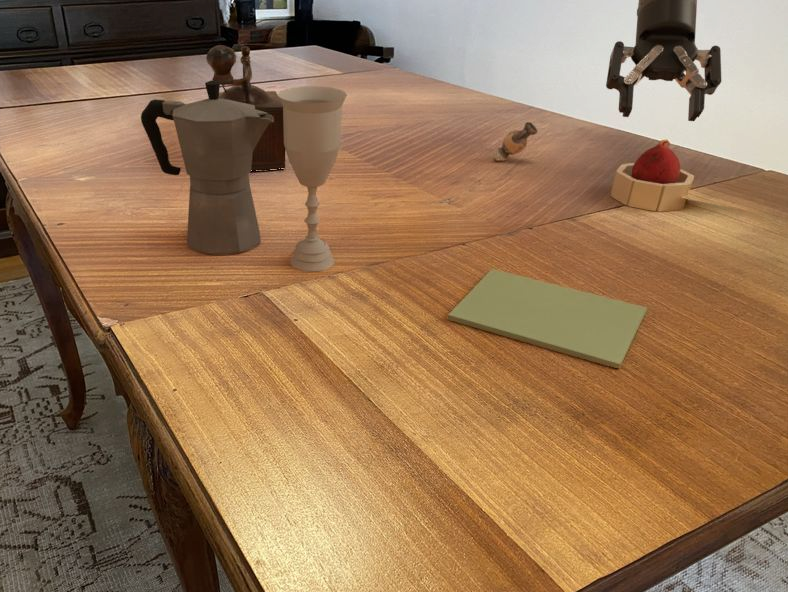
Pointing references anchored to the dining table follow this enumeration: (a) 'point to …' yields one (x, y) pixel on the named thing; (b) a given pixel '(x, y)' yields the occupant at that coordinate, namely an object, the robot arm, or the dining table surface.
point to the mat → (551, 317)
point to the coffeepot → (213, 167)
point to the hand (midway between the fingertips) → (660, 116)
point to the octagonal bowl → (650, 191)
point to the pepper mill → (272, 140)
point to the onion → (657, 165)
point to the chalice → (312, 158)
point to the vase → (515, 142)
